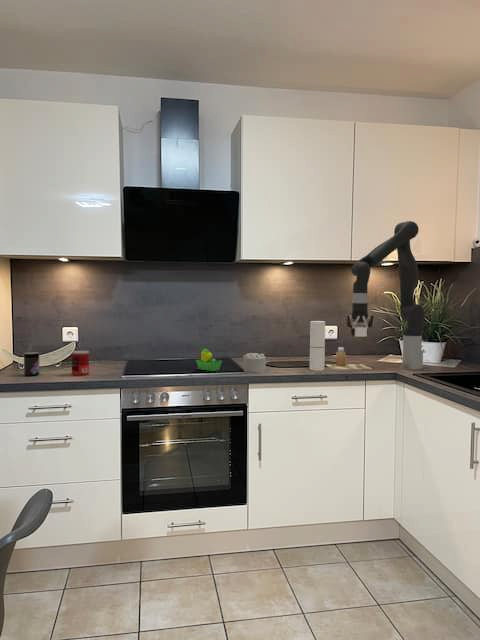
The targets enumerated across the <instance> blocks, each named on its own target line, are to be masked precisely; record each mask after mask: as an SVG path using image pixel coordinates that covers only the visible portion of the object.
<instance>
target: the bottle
mask: <svg viewBox="0 0 480 640" xmlns="http://www.w3.org/2000/svg"><path fill="white" fill-rule="evenodd" d="M344 348H345V347H342V346H338V348H337V351H336V352H335V364H336V366H340V367H343V366H345V364H346V359H347V358H346V357H347V356H346V355H347V354H346V351H345V349H344Z"/></svg>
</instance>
